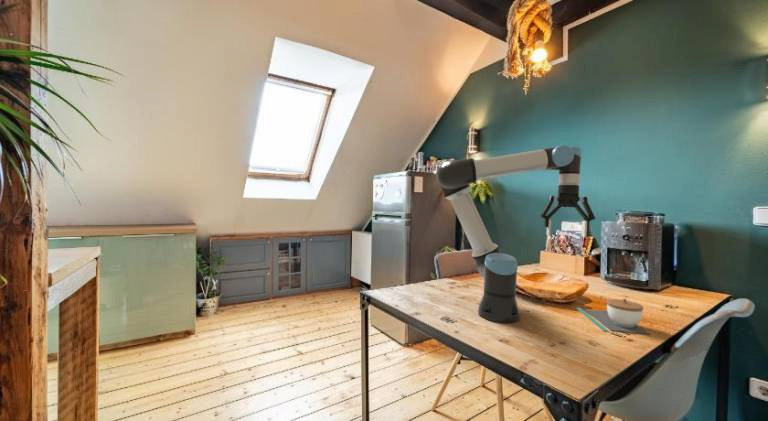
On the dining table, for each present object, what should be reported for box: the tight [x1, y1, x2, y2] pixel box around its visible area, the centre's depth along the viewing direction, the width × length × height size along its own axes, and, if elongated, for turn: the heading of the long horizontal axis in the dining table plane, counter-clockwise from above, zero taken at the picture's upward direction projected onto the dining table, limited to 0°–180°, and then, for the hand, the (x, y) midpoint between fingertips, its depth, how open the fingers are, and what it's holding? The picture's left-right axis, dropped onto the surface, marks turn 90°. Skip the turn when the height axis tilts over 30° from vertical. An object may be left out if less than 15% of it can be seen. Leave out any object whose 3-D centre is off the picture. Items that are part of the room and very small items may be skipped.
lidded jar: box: [606, 298, 644, 328], centre depth 119 cm, size 11×11×9 cm
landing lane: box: [576, 307, 651, 335], centre depth 124 cm, size 15×24×1 cm, turn 169°
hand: (566, 236), depth 135 cm, fingers open, 13 cm apart
